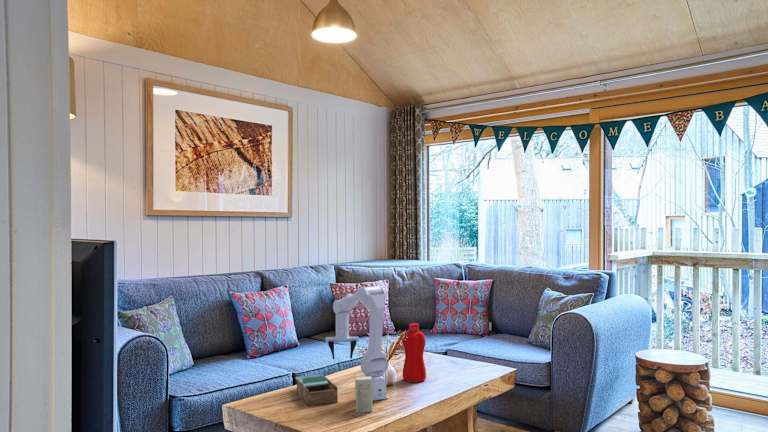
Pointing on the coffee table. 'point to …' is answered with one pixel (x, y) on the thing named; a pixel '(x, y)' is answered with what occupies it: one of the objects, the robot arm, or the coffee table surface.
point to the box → (318, 393)
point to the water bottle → (414, 354)
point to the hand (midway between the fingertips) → (342, 358)
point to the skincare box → (363, 394)
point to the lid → (312, 380)
